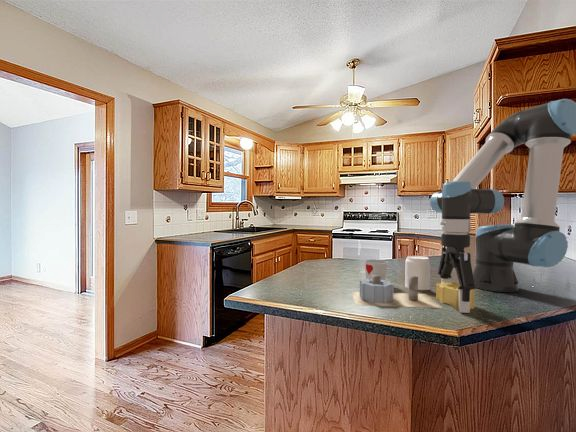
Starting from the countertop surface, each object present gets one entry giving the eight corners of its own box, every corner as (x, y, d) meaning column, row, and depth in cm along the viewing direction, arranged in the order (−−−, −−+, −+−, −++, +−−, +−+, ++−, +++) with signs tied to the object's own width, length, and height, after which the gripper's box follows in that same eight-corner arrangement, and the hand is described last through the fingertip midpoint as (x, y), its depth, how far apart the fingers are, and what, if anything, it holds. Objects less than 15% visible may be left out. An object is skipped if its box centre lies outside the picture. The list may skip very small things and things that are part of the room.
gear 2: (464, 301, 97) (464, 282, 97) (479, 311, 87) (480, 290, 87) (432, 300, 98) (432, 281, 98) (444, 310, 88) (444, 289, 88)
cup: (361, 286, 116) (361, 259, 116) (382, 285, 117) (382, 259, 117) (368, 291, 108) (369, 263, 108) (391, 291, 109) (391, 263, 109)
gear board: (425, 298, 100) (426, 272, 100) (442, 313, 86) (443, 282, 86) (350, 296, 103) (351, 270, 103) (355, 309, 89) (355, 280, 89)
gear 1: (388, 294, 99) (388, 279, 99) (396, 303, 90) (396, 286, 90) (358, 293, 100) (358, 278, 100) (362, 302, 91) (362, 285, 91)
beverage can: (432, 295, 104) (433, 259, 104) (407, 293, 106) (407, 258, 106) (426, 288, 112) (427, 256, 112) (403, 287, 114) (403, 255, 114)
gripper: (428, 230, 104) (427, 293, 105) (460, 236, 80) (459, 319, 81) (451, 230, 104) (450, 294, 104) (491, 237, 80) (489, 320, 80)
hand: (454, 305), depth 93 cm, fingers open, 12 cm apart
